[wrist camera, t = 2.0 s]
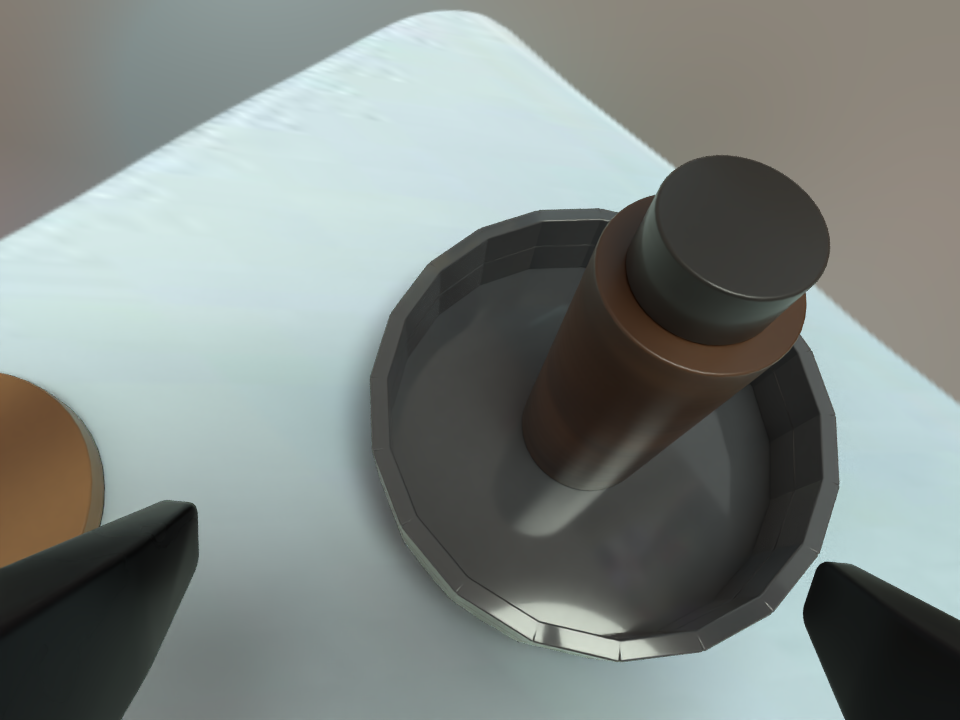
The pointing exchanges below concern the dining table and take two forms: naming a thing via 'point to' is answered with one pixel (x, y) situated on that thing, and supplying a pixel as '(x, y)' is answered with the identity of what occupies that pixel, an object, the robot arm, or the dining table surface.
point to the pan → (573, 512)
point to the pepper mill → (674, 317)
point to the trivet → (44, 472)
